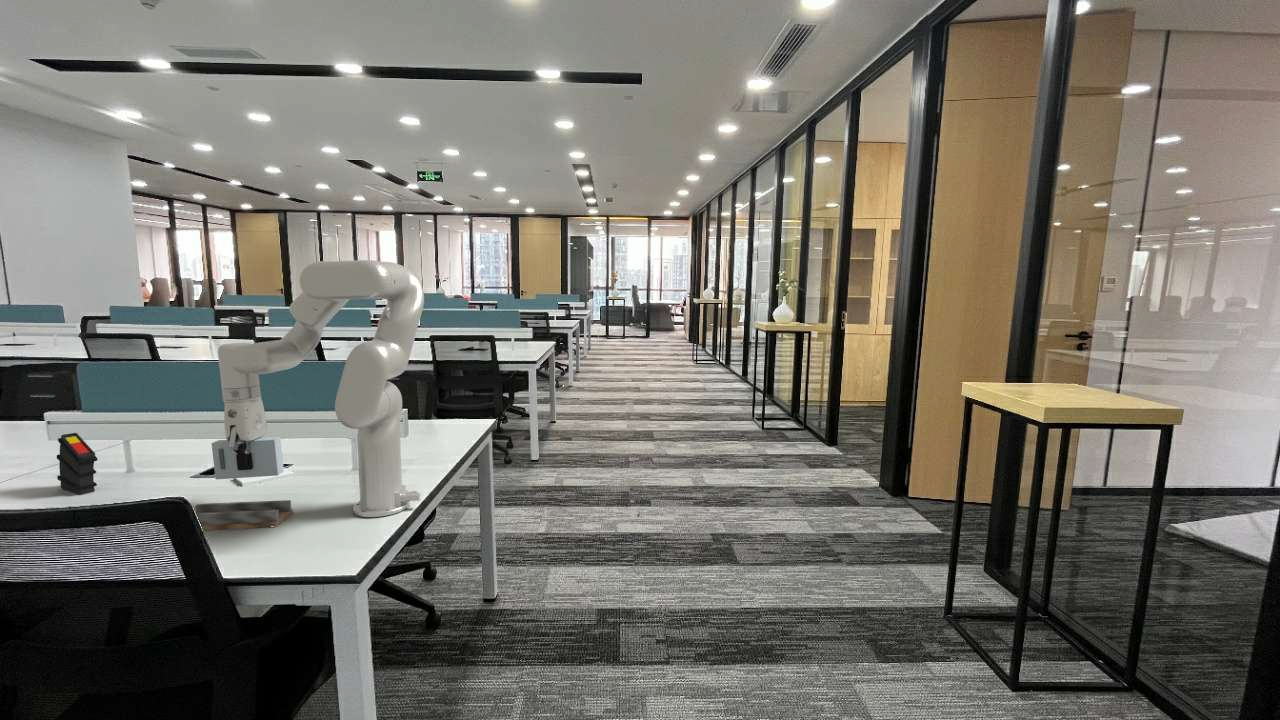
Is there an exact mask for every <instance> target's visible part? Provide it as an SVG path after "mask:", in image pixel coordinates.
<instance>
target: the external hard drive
mask: <svg viewBox="0 0 1280 720" xmlns="http://www.w3.org/2000/svg"><path fill="white" fill-rule="evenodd" d="M283 468H284V472H283V473H281V474H280V475H278V476H263V477H247V478H232V480H233V481H234V482H235V481H236V483H237V484H238V485H240V486H241V487H242V486H243V487H247V486H246V485H248V486H251V484H252V485H255V483H257V484H260V483H259V482H261V483H265V482H264V481H266V482H269V480H270V481H274V479H275V480H278V478H280V479H283V477H284V478H288V476H289V477H293V476H294V472H293V471H291V470H289V469H287V468H286V467H284V466H283ZM292 475H293V476H292Z"/></svg>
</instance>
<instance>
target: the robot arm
mask: <svg viewBox="0 0 1280 720" xmlns="http://www.w3.org/2000/svg"><path fill="white" fill-rule="evenodd" d="M299 275H300V276H299V287H300V289H301V291H302V292H301V293H300V294H299V295H298V296H297V297H296V298H295V299H293V301H292V302H291V304H290V306H289V313H290V314H291V315H292V317H293V318H294V319H295V323H294V325H293V326H292V328H290V330H289V331H287V333H286V334H285V335H284V336H283V337H282V338H281V339H278V340H277V339H276V340H269V341H262V342H253V343H251V342H231V343H224V344H223V343H222V344H221V345H219V347H218V348H217V358H218V366H219V375H220V385H221V391H222V392H221V394H222V401H223V402H224V411H223V412H224V413H223V414H224V415H223V416H224V418H223V419H224V421H223V422H224V434H225V440H227V441H228V442H229V448H230V449H233V450H234V453H235V455H236V460H237V469H238V470H251V469H253V463H252V453H249V442H250V441H253V440H255V439H257V438H263V436H265V435H266V434H267V433H268V424H267V418H266V411H265V406H264V403H263V399H262V396H261V395H262V392H261V386H260V385H261V384H260V375H266V374H271V373H272V374H273V373H276V372H280V371H285V370H286V371H287V370H289V369H293V368H295V367H297V366H298V365H300V364H301V363H302V362H303V361H304V360H305V359H306V358H307V357H308V356H309V355H310V354H311V353H312V352H313V351H314V350H315V349H316V348H317V346H318V344H319V343H320V342H321V338H322V335H323V332H324V328H325V326H326V325H328V324H329V322H330V321H331V320H332V319H333V318H334V317H335V316H336V315H337V313H338V312H340V310H342V308H343V307H344V306H345V305H346V304H347V303H348V302H349V301H350V300H379V299H381V300H382V299H385V300H387V302H386V306H385V307H384V309H383V311H382V312H381V314H380V317H379V319H378V324H377V328H376V329H375V330H376V331H375V334H374V337H373V339H372V340H368V341H364V342H362V343H359V344H358V345H356V346H355V347H354V348H353V349H352V350H351V351H350V353H349V354H348V356H347V358H346V360H345V364H344V367H343V371H342V375H341V378H340V382H339V385H338V389H337V392H336V398H335V402H334V411H335V416H336V418H337V420H338V421H339V422H340V424H341V425H343V426H345V427H346V428H349V429H353V430H357V436H356V437H357V438H356V442H357V443H356V447H357V464H358V465H357V467H358V484H359V485H358V487H359V488H358V489H359V501H357V502H356V503H355V504H354V505H353V507H352V511H353V513H354V514H355V515H356V516H358V517H363V518H380V517H386V516H390V515H395V514H398V513H400V512H403V511H404V510H406V509H407V508H408V507H409V506H410V502H420V501H421V493H420V492H419V491H418V490H411V491H409V490H408V489H407V485H403V474H402V450H401V444H402V443H401V420H402V413H403V412H402V411H403V397H402V393H401V391H400V389H399V388H398V386H396V384H394V383H392V382H391V381H389V380H390V379H394V378H397V377H398V376H400V375H402V374H403V373H404V372H405V371H406V369H407V368H408V367H407V366H408V365H409V361H410V357H411V354H412V349H413V345H414V342H415V338H416V334H417V330H418V326H419V323H420V320H421V316H422V313H423V311H424V310H423V309H424V305H425V292H424V288H423V285H422V283H421V281H420V280H419V278H418V277H417V275H416V274H414V272H413V271H412V270H410V269H409V268H407V267H406V266H404V265H401V264H400V263H395V262H389V261H380V260H371V259H370V260H369V259H365V260H364V259H363V260H362V259H360V260H359V259H358V260H337V261H334V260H333V261H329V260H327V261H326V260H324V261H322V260H319V261H315V262H311V263H310V264H308V265H306V266H305V267H304V268H303V269H302V271H301V273H300V274H299ZM240 439H241V440H242V441H238V440H240ZM239 444H244V447H243V445H239Z"/></svg>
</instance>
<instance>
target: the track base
mask: <svg viewBox="0 0 1280 720" xmlns="http://www.w3.org/2000/svg"><path fill="white" fill-rule="evenodd" d="M194 507H195V513H196V515H197V517H198V520H199V522H200V524H201V527H202V529H203V531H220V530H219V529H225V530H243V529H244V530H245V528H247V529H259V528H258V527H268V528H272V527H271V526H274V527H273V528H276V527H275V526H277V525H278V526H279V525H281V524H282V523H283V522H284V521H285V520H287V519H288V518H289V517H291V516H292V515H293V514H292V513H294V512H293V509H292V500H291V499H285V500H284V499H283V500H262V501H261V500H259V501H239V502H238V501H236V502H235V501H234V502H210V503H196V504H195V505H194ZM287 517H288V518H287ZM282 521H283V522H282ZM281 522H282V523H281ZM278 526H277V527H278ZM210 529H211V530H210Z"/></svg>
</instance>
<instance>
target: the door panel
mask: <svg viewBox="0 0 1280 720" xmlns="http://www.w3.org/2000/svg"><path fill="white" fill-rule="evenodd" d="M238 441H242V440H241V439H240V440H238ZM239 445H243V447H244V444H239ZM282 450H283V449H282V438H281V436H271V437H270V436H269V437H261V438H257V439H255V440H253V441H250V442H249V453H252V463H253V469H251V470H238V469H237V460H236V455H235V453H234V450H233V449H230V448H229V442H228V441H227V439H219V440H216V441H213V442H212V443H211V452H212V460H213V468H214V476H215V480H228V479H229V480H231V479H233V478H247V477H263V476H278V475H280V474H281V473H283V472H284V468H285V467H284V461H283V451H282ZM283 467H284V468H283Z"/></svg>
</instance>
